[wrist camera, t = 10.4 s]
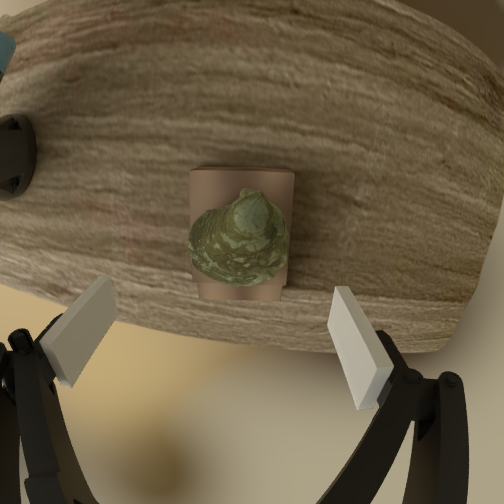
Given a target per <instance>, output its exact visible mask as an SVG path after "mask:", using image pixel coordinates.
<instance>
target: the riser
mask: <svg viewBox="0 0 504 504" xmlns="http://www.w3.org/2000/svg"><path fill="white" fill-rule="evenodd" d="M294 180H295V173H294V172H292V171H291V170H289V169H281V168H261V167H223V166H200V167H197V168H194V169H192V170H189V198H190V229H191V227H192V225H193V223H194V221H195V220H196V219H197V218H198V217H199V216H201V215H202V214H203V213H204V212H205V211H206V210H209V209H219V208H222V207H224V206H226V205H231V204H232V203H233V202H235V201H236V200H237V199H238V198H239V197H240V191H241V190H242V189H244V188H248V189H254V190H255V191H261V192H263V194H264V195H265V196H266V198H267V200H269V201H271V202H273V203H274V204H276V205H277V206H278V207H279V208H280V210H281V211H282V213H283V216H284V220H285V223H286V229H287V232H288V235H289V244H288V248H287V251H286V254H287V262H286V263H285V264H284V266H283V267H282V268H281V269H280V270H279V271H278V272H277V274H275V276H274V277H273V278H271V279H269V280H267V281H265V282H261V283H258V284H256V285H254V286H240V287H235V286H229V285H223V284H221V283H220V282H218V281H215V280H213V279H211V278H209V277H207V276H206V275H204V274H203V273H201V272H200V271H198V270H197V269H196V268H195V267H194V265H193V264H192V276H193V282H198V290H199V298H205V299H225V300H251V301H281V296H282V286H286V280H287V269H288V259H289V247H290V235H291V223H292V210H293V196H294Z"/></svg>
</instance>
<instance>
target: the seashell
mask: <svg viewBox="0 0 504 504" xmlns="http://www.w3.org/2000/svg"><path fill="white" fill-rule="evenodd" d="M288 244H289V235H288V232H287V229H286V223H285V220H284V216H283V213H282V211H281V210H280V208H279V207H278V206H277V205H276V204H274V203H273V202H271V201H269V200H267V198H266V196H265V195H264V194H263V192H261V191H255V190H254V189H248V188H244V189H242V190H241V191H240V197H239V198H238V199H237V200H236V201H235V202H233V203H232V204H231V205H226V206H224V207H222V208H219V209H209V210H206V211H205V212H204V213H203V214H202V215H201V216H199V217H198V218H197V219H196V220H195V221H194V223H193V225H192V227H191V229H190V232H189V236H188V248H189V254H190V256H191V260H192V264H193V265H194V267H195V268H196V269H197V270H198V271H200V272H201V273H203V274H204V275H206V276H207V277H209V278H211V279H213V280H215V281H218V282H220V283H221V284H223V285H229V286H235V287H240V286H254V285H256V284H258V283H261V282H265V281H267V280H269V279H271V278H273V277H274V276H275V274H277V272H278V271H279V270H280V269H281V268H282V267H283V266H284V264H285V263H286V262H287V254H286V251H287V248H288Z"/></svg>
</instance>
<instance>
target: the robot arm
mask: <svg viewBox="0 0 504 504" xmlns="http://www.w3.org/2000/svg"><path fill="white" fill-rule="evenodd" d="M15 49H16V41H15V39H14V38H13V37H12V36H10V35H8V34H6V33H4V32H2V31H0V83H1V81H2V78H3V76H4V75H5V74H6V69H7V67H8V64H9V62H10V60H11V58H12V56H13V54H14V52H15ZM35 159H36V143H35V136H34V132H33V129H32V126H31V124H30V123H29V121H28V120H27V119H26V118H25V117H24V116H22V115H19V114H9V115H4V116H2V117H0V200H1V201H7V200H10V199H13V198H16V197H18V196H20V195H21V194H22V193H23V192H24V191H25V189H26V188H27V186H28V184H29V182H30V180H31V177H32V174H33V171H34V166H35ZM117 316H118V311H117V306H116V302H115V297H114V293H113V288H112V283H111V277H110V276H101V275H100V276H99V277H98V278H97V279H96V280H95V281H94V282H93V283H92V284H91V285H90V286H89V287H88V288H87V289H86V290H85V291H84V292H83V293H82V294H81V295H80V296H79V297H78V298H77V299H76V301H75V302H74V303H73V304H72V305H71V306H70V307H69V308H68V309H67V310H66V311H65V313H64V314H63V313H62V314H60V315H58V316H57V317H55V318H54V319H53V320H52V321H51V322H50V324H49V325H48V326H47V327H46V329H44V330H43V331H42V332H41V334H40V335H39V336H38V337H37V338H36V339H35V341H34V342H33V340H32V337H31V335H30V333H29V331H28V330H27V329H23V328H22V329H17V330H15V331H14V332H12V333H11V334H10V335H9V337H8V342H9V343H10V346H11V348H12V350H13V351H7V349H6V347H5V345H4V344H3V343H2V342H0V504H21V496H20V495H21V494H20V478H19V445H20V436H21V442H22V447H23V452H24V456H25V461H26V465H27V469H28V473H29V478H27V479H25V481H24V484H25V489H26V492H27V496H28V499H29V502H30V504H99V503H98V502H97V501H96V499H95V498H94V496H93V495H92V493H91V491H90V488H89V486H88V484H87V482H86V480H85V477H84V475H83V473H82V470H81V468H80V465H79V463H78V460H77V458H76V455H75V452H74V450H73V447H72V444H71V441H70V438H69V435H68V432H67V429H66V425H65V422H64V418H63V415H62V411H61V407H60V403H59V399H58V395H57V390H56V386H55V384H54V382H53V380H54V378H55V377H57V379H58V381H59V382H60V384H62V385H64V386H67V387H70V388H72V387H73V385H74V384H75V382H76V380H77V379H78V377H79V375H80V374H81V372H82V370H83V369H84V367H85V365H86V364H87V362H88V361H89V359H90V357H91V356H92V354H93V352H94V351H95V349H96V348H97V346H98V345H99V343H100V342H101V340H102V338H103V337H104V335H105V334H106V333H107V331H108V329H109V328H110V326H111V325H112V324H113V322H114V321H115V319H116V318H117ZM327 326H328V329H329V331H330V334H331V337H332V340H333V342H334V345H335V348H336V351H337V353H338V356H339V359H340V362H341V364H342V367H343V370H344V373H345V376H346V379H347V382H348V384H349V388H350V390H351V393H352V396H353V399H354V402H355V405H356V408H357V411H359V410H366V409H371V408H373V407H374V405H375V403H376V401H377V402H378V404H379V409H378V411H377V412H376V414H375V416H374V417H373V419H372V422H371V424H370V425H369V427H368V429H367V431H366V432H365V434H364V436H363V437H362V439H361V441H360V442H359V444H358V446H357V447H356V449H355V450H354V452H353V454H352V455H351V457H350V458H349V460H348V461H347V463H346V464H345V466H344V467H343V468H342V470H341V471H340V473H339V474H338V476H337V477H336V478H335V480H334V481H333V482H332V484H331V485H330V486H329V488H328V489H327V490H326V492H325V493H324V494H323V495H322V497H321V498H320V499H319V501H318V502H317V503H316V504H370V503H371V501H372V500H373V498H374V497H375V495H376V493H377V492H378V490H379V488H380V486H381V485H382V483H383V481H384V479H385V477H386V475H387V473H388V472H389V470H390V468H391V466H392V464H393V462H394V460H395V457H396V455H397V453H398V451H399V449H400V447H401V444H402V442H403V440H404V437H405V435H406V433H407V430H408V428H409V425H410V422H411V421H415V425H414V436H413V445H412V453H411V460H410V467H409V473H408V478H407V483H406V488H405V493H404V498H403V503H402V504H467V494H468V479H469V438H468V422H467V411H466V402H465V394H464V387H463V382H462V379H461V378H460V377H459V375H457V374H455V373H453V372H449V371H446V372H443V373H442V374H441V375H440V376H439V378H438V379H426V378H423V376H422V374H421V373H420V372H418V371H416V370H415V369H411V368H408V366H407V364H406V362H405V361H404V359H403V357H402V356H401V354H400V352H399V351H398V350H397V347H396V346H395V344H394V342H393V341H392V339H391V337H390V336H389V335H388V334H387V333H385V332H384V331H383V330H378V331H374V329H373V327H372V326H371V324H370V322H369V320H368V319H367V317H366V315H365V314H364V312H363V310H362V309H361V307H360V305H359V304H358V302H357V300H356V299H355V297H354V295H353V294H352V292H351V290H350V289H349V287H348V286H335V291H334V296H333V301H332V306H331V311H330V315H329V320H328V324H327ZM2 382H3V384H4V385H3V387H2Z"/></svg>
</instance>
